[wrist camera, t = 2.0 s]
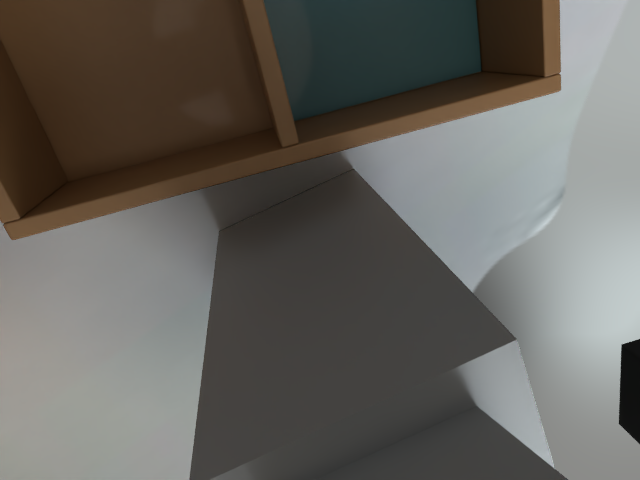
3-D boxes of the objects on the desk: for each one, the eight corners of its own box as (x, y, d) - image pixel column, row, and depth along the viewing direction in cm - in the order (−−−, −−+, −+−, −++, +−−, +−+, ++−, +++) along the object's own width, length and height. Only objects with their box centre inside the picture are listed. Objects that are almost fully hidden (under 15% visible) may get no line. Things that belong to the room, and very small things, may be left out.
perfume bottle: (219, 231, 21) (140, 884, 5) (353, 168, 21) (773, 608, 4) (281, 341, 24) (374, 995, 7) (401, 285, 24) (769, 825, 7)
